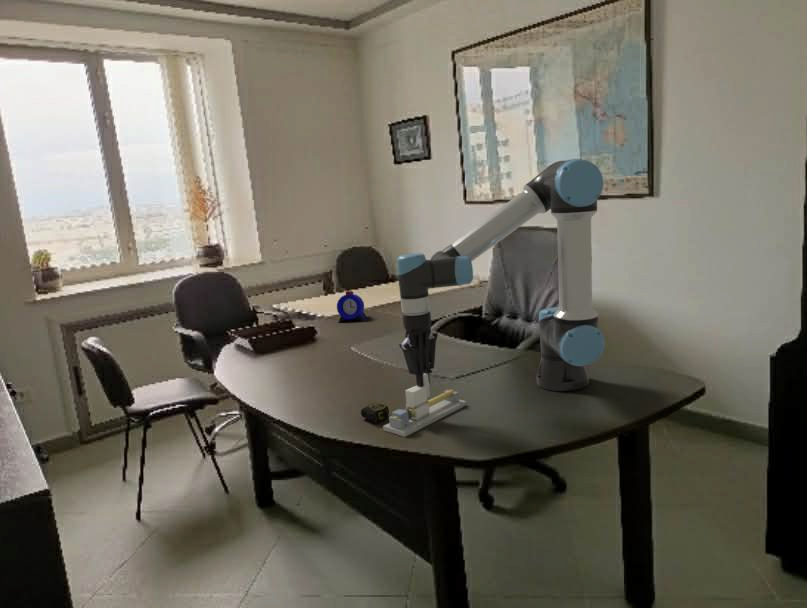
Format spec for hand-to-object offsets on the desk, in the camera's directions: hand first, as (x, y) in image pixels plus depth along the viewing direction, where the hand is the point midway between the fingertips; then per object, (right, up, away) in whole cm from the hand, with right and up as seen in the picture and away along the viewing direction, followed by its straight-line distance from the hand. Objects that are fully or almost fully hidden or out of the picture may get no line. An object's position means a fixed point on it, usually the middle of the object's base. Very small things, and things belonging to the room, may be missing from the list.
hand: (424, 396), depth 167 cm
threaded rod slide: (+1, -6, +1) cm, 6 cm away
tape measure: (-13, -7, +3) cm, 16 cm away
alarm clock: (-31, +17, +134) cm, 138 cm away
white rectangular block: (-2, -5, -1) cm, 6 cm away
